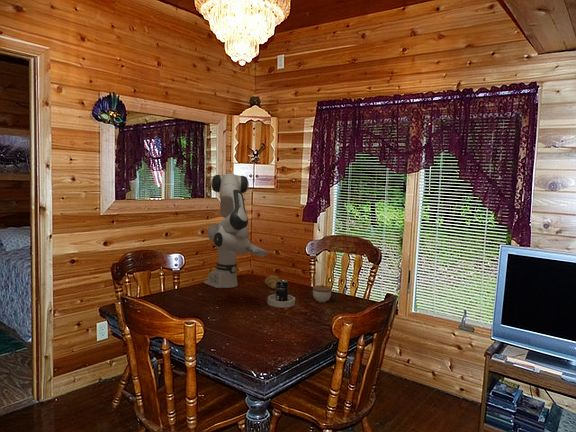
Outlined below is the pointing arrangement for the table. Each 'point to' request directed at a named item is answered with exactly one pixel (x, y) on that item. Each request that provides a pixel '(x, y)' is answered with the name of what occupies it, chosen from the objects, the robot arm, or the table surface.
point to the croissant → (271, 281)
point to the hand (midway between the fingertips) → (261, 250)
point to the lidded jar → (322, 293)
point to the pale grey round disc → (273, 302)
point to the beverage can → (282, 290)
